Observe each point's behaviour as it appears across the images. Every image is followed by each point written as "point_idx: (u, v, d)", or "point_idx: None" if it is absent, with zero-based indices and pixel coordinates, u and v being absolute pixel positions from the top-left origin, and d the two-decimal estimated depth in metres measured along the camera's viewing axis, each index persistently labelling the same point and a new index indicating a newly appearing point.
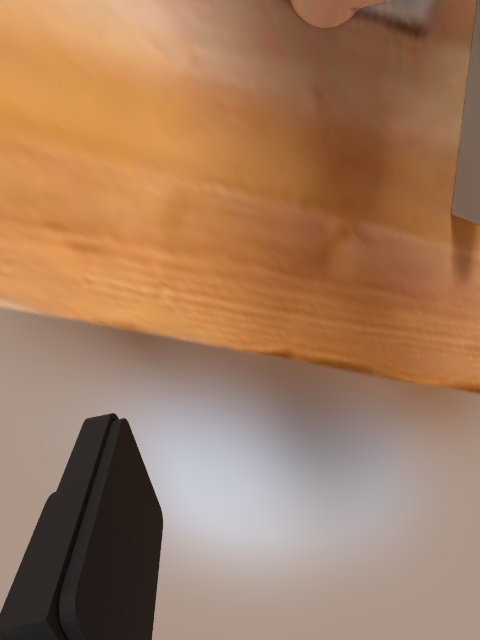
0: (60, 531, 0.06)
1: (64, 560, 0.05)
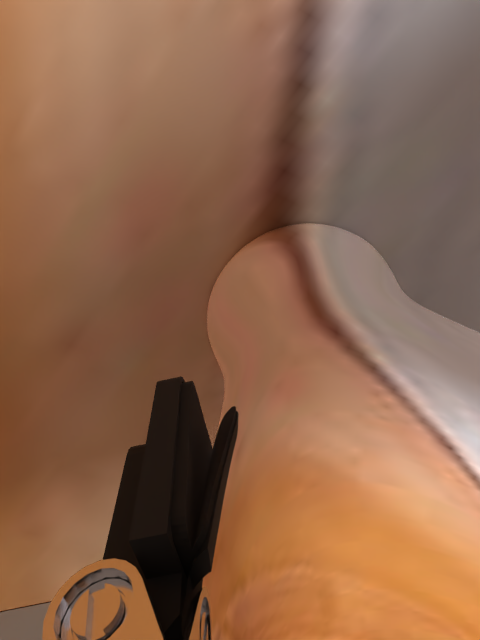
0: (160, 468, 0.07)
1: (171, 490, 0.06)
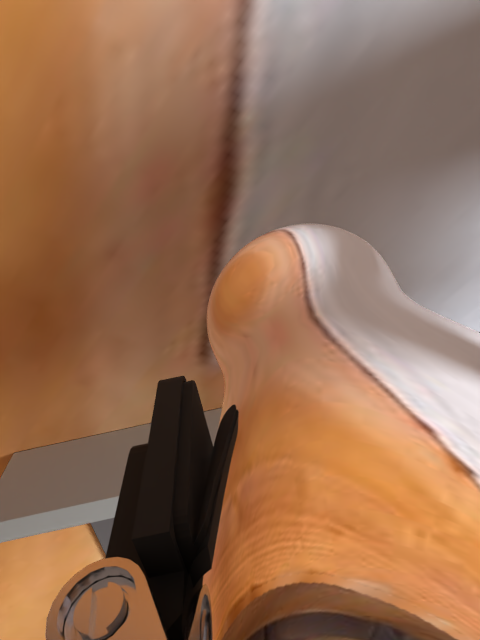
0: (162, 467, 0.07)
1: (173, 488, 0.06)
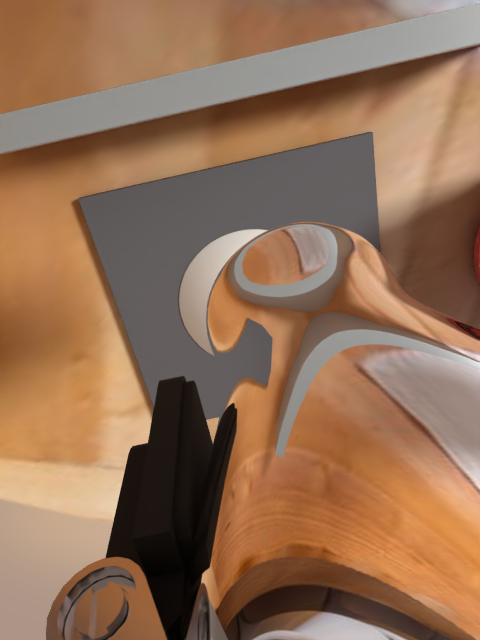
0: (162, 467, 0.07)
1: (172, 488, 0.06)
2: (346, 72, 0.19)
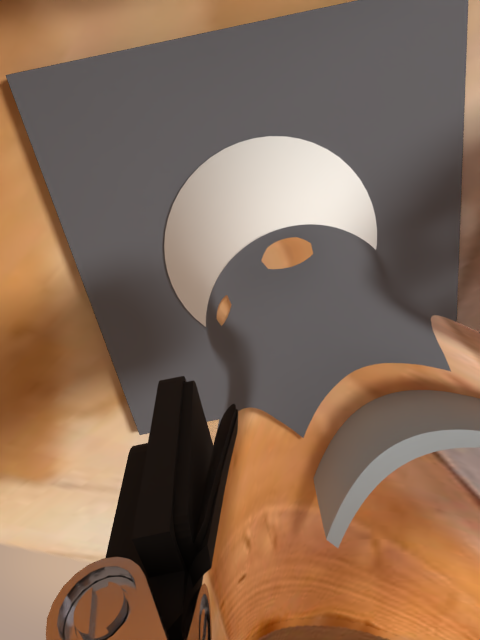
0: (162, 467, 0.07)
1: (173, 489, 0.06)
2: None
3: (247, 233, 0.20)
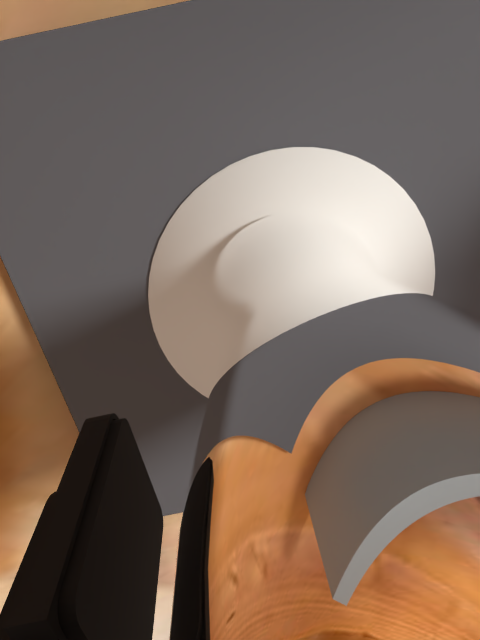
0: (61, 530, 0.06)
1: (65, 559, 0.05)
2: None
3: None
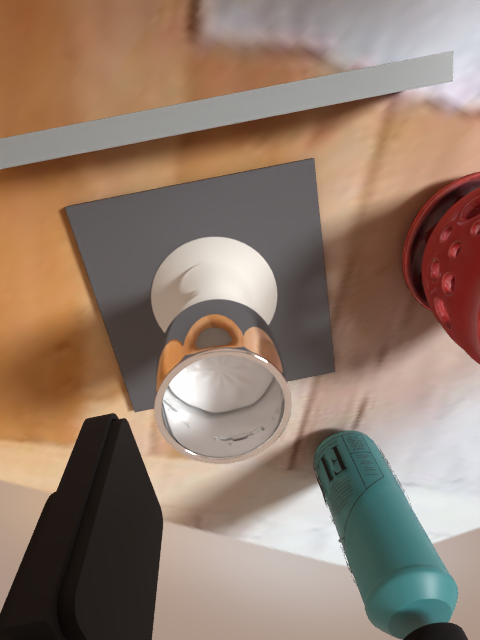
0: (60, 531, 0.06)
1: (64, 560, 0.05)
2: (282, 113, 0.24)
3: None
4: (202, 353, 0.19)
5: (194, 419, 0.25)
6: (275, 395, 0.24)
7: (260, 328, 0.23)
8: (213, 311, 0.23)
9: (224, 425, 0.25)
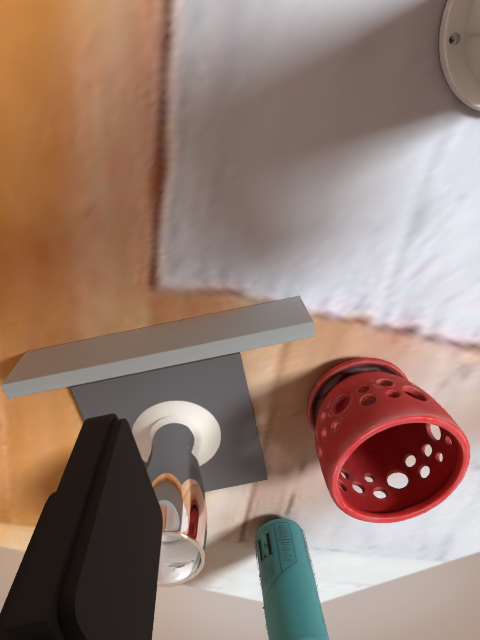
0: (60, 531, 0.06)
1: (65, 560, 0.05)
2: (206, 357, 0.38)
3: None
4: None
5: None
6: None
7: (190, 502, 0.37)
8: (161, 491, 0.37)
9: (172, 553, 0.39)
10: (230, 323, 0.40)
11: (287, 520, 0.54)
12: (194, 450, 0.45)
